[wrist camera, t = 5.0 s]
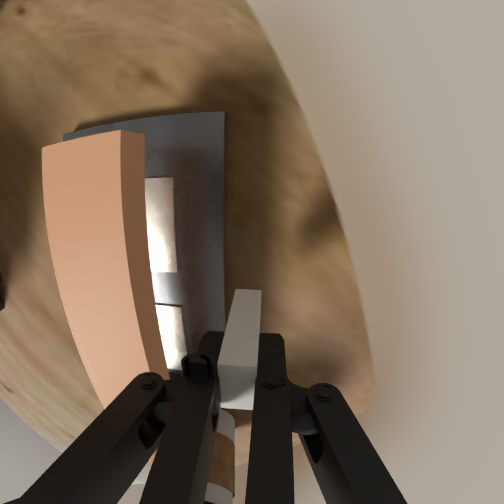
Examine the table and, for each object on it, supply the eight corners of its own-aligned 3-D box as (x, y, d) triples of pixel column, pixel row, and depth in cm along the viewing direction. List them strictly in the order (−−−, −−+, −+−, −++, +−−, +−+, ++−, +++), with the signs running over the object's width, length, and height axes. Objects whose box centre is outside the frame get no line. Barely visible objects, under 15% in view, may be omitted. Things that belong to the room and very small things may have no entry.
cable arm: (69, 146, 12) (36, 147, 9) (144, 134, 12) (115, 129, 9) (137, 433, 19) (128, 455, 17) (187, 444, 19) (181, 468, 16)
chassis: (71, 134, 18) (18, 133, 12) (227, 114, 17) (207, 91, 11) (112, 375, 26) (88, 414, 20) (229, 395, 26) (221, 445, 19)
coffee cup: (200, 440, 29) (179, 533, 15) (161, 403, 27) (121, 508, 13) (258, 430, 28) (250, 539, 13) (222, 390, 25) (197, 521, 11)
